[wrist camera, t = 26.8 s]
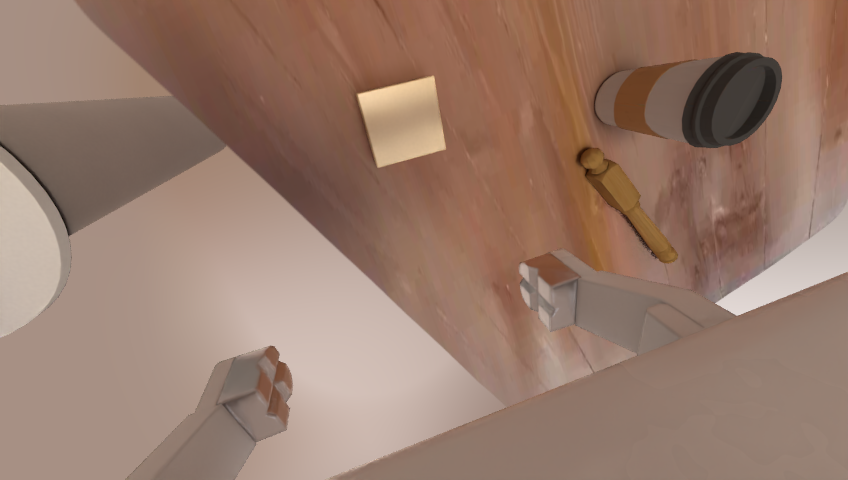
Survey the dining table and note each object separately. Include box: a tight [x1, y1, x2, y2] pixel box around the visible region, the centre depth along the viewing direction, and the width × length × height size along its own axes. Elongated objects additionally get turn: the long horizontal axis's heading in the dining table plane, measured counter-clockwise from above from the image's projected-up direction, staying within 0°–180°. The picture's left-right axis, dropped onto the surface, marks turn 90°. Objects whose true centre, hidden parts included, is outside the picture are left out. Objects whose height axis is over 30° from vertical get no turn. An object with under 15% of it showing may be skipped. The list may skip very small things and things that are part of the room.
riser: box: [356, 76, 446, 168], centre depth 34 cm, size 8×8×3 cm
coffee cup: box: [595, 52, 782, 148], centre depth 34 cm, size 8×8×15 cm
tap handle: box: [581, 148, 678, 263], centre depth 48 cm, size 3×3×30 cm
